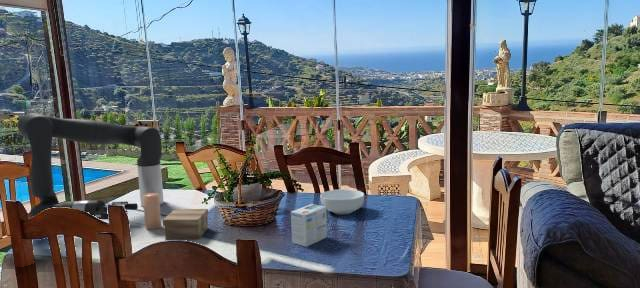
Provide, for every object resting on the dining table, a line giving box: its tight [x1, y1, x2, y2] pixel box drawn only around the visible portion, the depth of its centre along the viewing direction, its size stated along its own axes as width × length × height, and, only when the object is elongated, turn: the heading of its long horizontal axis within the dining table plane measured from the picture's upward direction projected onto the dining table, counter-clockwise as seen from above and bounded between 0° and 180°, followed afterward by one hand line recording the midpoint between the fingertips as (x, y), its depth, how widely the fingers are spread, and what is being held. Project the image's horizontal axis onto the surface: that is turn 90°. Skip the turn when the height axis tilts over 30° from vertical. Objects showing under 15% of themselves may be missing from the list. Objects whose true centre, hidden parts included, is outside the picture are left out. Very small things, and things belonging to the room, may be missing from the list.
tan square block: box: [162, 208, 209, 241], centre depth 167 cm, size 12×12×7 cm
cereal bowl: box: [319, 188, 365, 215], centre depth 187 cm, size 17×17×7 cm
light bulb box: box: [290, 203, 328, 248], centre depth 157 cm, size 11×7×11 cm, turn 141°
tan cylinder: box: [143, 193, 162, 230], centre depth 175 cm, size 6×6×12 cm
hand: (132, 209), depth 175 cm, fingers open, 8 cm apart
